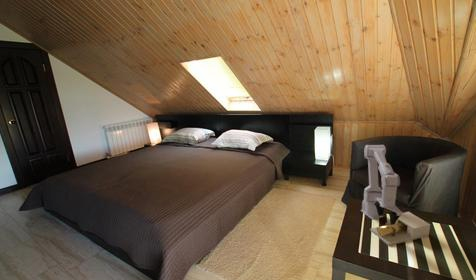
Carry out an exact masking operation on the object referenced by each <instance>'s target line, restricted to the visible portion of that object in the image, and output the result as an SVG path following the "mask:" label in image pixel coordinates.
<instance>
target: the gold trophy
mask: <svg viewBox="0 0 476 280" xmlns="http://www.w3.org/2000/svg"><path fill="white" fill-rule="evenodd" d="M384 225H385V226H384ZM384 225H381V227H380V226H377V232H378V234H379V235H380V236H385V235H389V234H392V235H393V236H395V233H398V232H402V231H406V230H407V227H406V225H405V224H404V223H402V222H399V223H395V224H394V225H391V224H390V223H388V222H385V224H384Z"/></svg>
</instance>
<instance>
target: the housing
mask: <svg viewBox="0 0 476 280" xmlns="http://www.w3.org/2000/svg"><path fill="white" fill-rule="evenodd" d="M399 222H402V223H404V224H405V225H406V227H407V230H406V231H402V232H398V233H395V236H393V235H392V234H389V235H385V236H380V235H379V234H378V232H377V227H378V226H377V227H371V228H369V231H370V232H371V233H372V234H373V235H375V236H376V235H377V236H378V237H377V236H376V237H377V238H378V239H380V240H381V242H384V244H386V245H387V246H391V245H396V244H397V245H398V244H401V243H405V242H409V241H413V240H417V239H418V238H419V239H423V238H427V237H429V235H430V229H431V224H430V223H428V222H426V221H425V220H424V219H422V218H420V217H418V216H417V215H415V214H413V213H412V212H410V211H405V212H402V215H401V216H400V217H399V218H398V219H397V221H396V223H399ZM385 225H386V224H384V225H383V226H385ZM381 226H382V225H381ZM381 226H379V227H381ZM422 237H423V238H422ZM419 239H418V240H419Z"/></svg>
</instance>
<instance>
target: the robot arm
mask: <svg viewBox="0 0 476 280" xmlns="http://www.w3.org/2000/svg"><path fill="white" fill-rule="evenodd" d="M363 150H364V151H363V153H364V154H363V155H364V159H367V165H368V167H367V170H368V186H366V187H365V188H364V189H363V190H364V191H363V200H362V203H361V209H360V212H362V213H363V214H364V215H366V216H367V217H368V218H369V219H371V220H375V219H379V218H384V212H385V209H387V210H389V211H390V212H388V215H389V224H391V225H394V224H395V223H396V221H397V219H398V218H399V217H400V216H401V215H402V213H403V211H401V210H400V209H399V207H397V205H396V199H397V189H398V187H399V186H400V185H401V179H400V176H399V174H397V173H396V172H394V170H393V168H392V166H391V164H390V163H388V162H387V158H386V154H387V148H386V146H385V145H384V144H366V145H365V146H364V148H363ZM378 171H379V172H378ZM379 173H380V176H381V178H380V179H381V187H380V186H379Z"/></svg>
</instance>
